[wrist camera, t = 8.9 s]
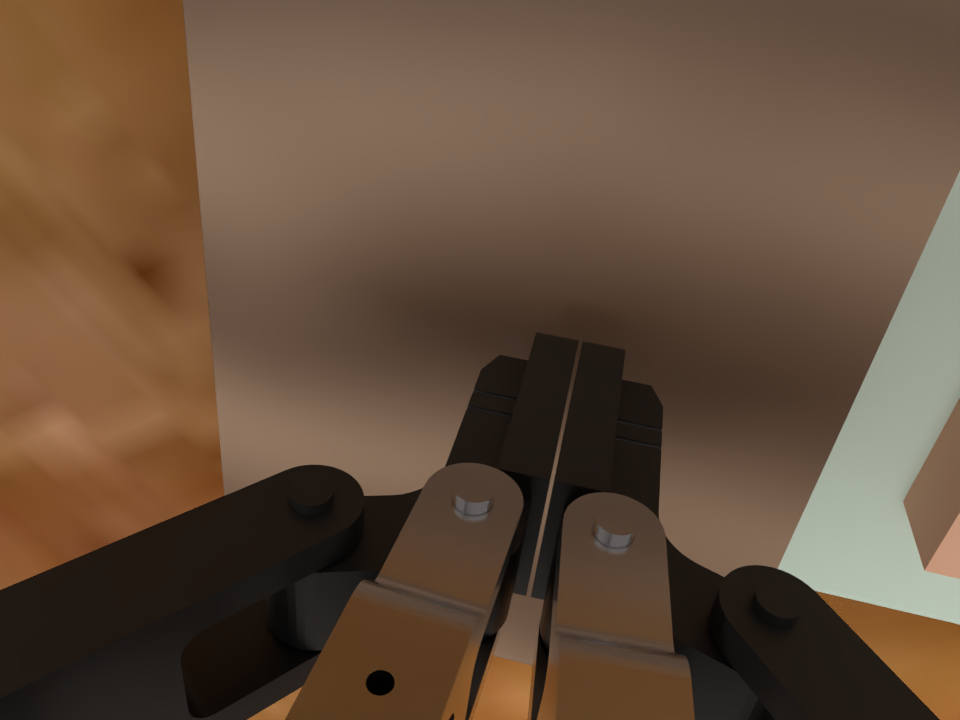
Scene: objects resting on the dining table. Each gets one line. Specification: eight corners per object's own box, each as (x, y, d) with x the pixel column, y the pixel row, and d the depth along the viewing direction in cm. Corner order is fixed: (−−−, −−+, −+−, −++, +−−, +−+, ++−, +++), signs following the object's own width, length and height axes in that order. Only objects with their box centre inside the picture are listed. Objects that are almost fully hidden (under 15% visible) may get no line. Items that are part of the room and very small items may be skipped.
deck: (279, -299, 14) (154, -333, 11) (1020, -205, 13) (1134, -211, 10) (294, 484, 24) (232, 590, 21) (709, 582, 23) (712, 710, 20)
